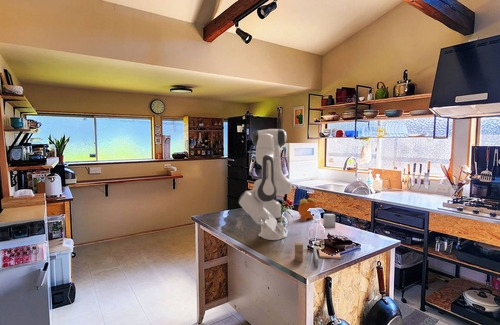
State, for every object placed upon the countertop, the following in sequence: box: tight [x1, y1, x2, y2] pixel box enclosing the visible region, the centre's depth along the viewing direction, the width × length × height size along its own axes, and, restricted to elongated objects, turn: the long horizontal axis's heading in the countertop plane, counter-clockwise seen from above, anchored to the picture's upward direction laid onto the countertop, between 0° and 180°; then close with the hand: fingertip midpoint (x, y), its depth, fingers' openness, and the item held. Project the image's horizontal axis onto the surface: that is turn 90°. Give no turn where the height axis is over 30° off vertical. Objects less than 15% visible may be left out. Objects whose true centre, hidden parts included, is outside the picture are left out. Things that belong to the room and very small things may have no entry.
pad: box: [318, 250, 342, 260], centre depth 158 cm, size 12×11×1 cm
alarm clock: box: [297, 197, 316, 222], centre depth 226 cm, size 13×6×20 cm, turn 115°
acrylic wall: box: [313, 245, 319, 268], centre depth 150 cm, size 18×1×4 cm, turn 170°
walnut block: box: [294, 241, 304, 263], centre depth 149 cm, size 4×4×9 cm
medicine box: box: [322, 213, 336, 228], centre depth 208 cm, size 8×4×9 cm, turn 92°
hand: (280, 235), depth 150 cm, fingers open, 8 cm apart
